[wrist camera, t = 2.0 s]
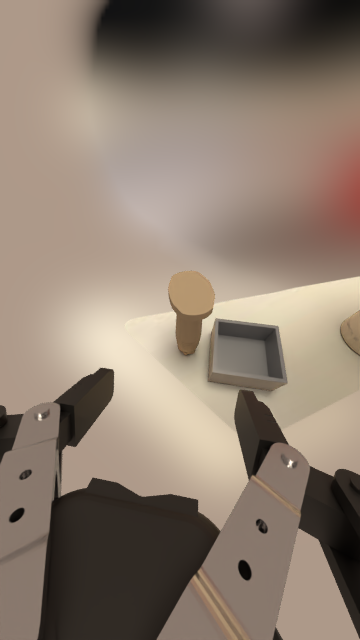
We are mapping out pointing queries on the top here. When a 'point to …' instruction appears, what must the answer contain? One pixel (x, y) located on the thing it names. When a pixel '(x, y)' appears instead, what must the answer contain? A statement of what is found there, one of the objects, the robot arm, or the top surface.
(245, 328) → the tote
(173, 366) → the top surface
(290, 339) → the top surface
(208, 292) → the handle
